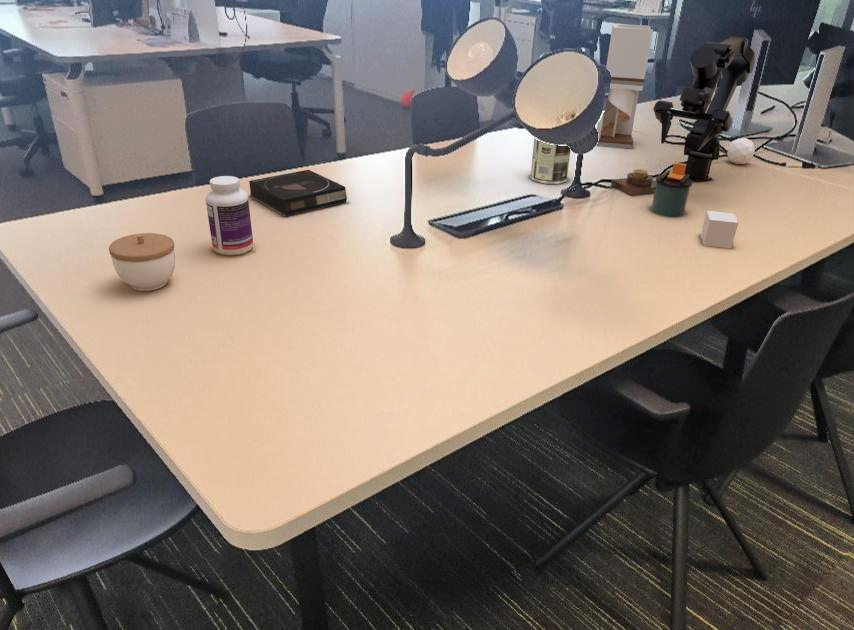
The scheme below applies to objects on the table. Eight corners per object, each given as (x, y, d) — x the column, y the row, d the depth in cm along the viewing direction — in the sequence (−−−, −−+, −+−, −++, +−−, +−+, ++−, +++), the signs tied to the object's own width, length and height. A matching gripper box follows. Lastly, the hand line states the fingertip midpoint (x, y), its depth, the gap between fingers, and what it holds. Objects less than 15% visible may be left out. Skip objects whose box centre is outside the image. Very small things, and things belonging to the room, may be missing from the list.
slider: (671, 173, 174) (673, 162, 172) (685, 175, 172) (687, 164, 171) (666, 177, 170) (669, 166, 169) (680, 180, 169) (683, 169, 167)
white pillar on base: (596, 145, 226) (614, 27, 208) (595, 137, 235) (612, 23, 217) (632, 148, 225) (653, 29, 207) (630, 140, 234) (650, 25, 216)
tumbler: (654, 203, 179) (661, 168, 175) (688, 209, 176) (696, 174, 171) (645, 212, 173) (653, 177, 168) (681, 219, 169) (689, 183, 165)
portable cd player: (287, 217, 159) (285, 200, 157) (250, 196, 170) (249, 180, 168) (347, 203, 169) (346, 187, 167) (309, 185, 180) (308, 169, 177)
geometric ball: (728, 170, 218) (723, 145, 218) (756, 163, 216) (750, 138, 216) (731, 164, 210) (725, 138, 211) (759, 156, 208) (753, 130, 209)
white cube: (700, 235, 161) (706, 210, 158) (727, 238, 160) (734, 213, 157) (703, 245, 156) (709, 219, 153) (731, 248, 155) (738, 222, 152)
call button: (640, 175, 189) (642, 168, 189) (649, 179, 187) (650, 172, 186) (630, 176, 188) (631, 169, 187) (638, 180, 185) (639, 173, 184)
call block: (643, 181, 194) (645, 169, 193) (664, 191, 188) (667, 179, 186) (610, 185, 190) (613, 172, 188) (631, 196, 183) (633, 182, 182)
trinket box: (143, 302, 121) (133, 252, 116) (104, 286, 126) (93, 237, 121) (192, 281, 129) (185, 233, 124) (154, 266, 134) (145, 220, 129)
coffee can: (564, 173, 198) (571, 123, 190) (569, 185, 189) (576, 132, 182) (528, 172, 198) (533, 121, 190) (531, 183, 189) (536, 130, 182)
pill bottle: (261, 245, 145) (254, 177, 137) (239, 260, 138) (231, 189, 131) (227, 239, 147) (219, 171, 139) (204, 253, 140) (194, 182, 133)
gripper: (661, 67, 174) (638, 124, 174) (738, 77, 166) (713, 138, 165) (668, 90, 184) (646, 145, 184) (740, 102, 175) (717, 159, 175)
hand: (679, 146), depth 177 cm, fingers open, 9 cm apart
